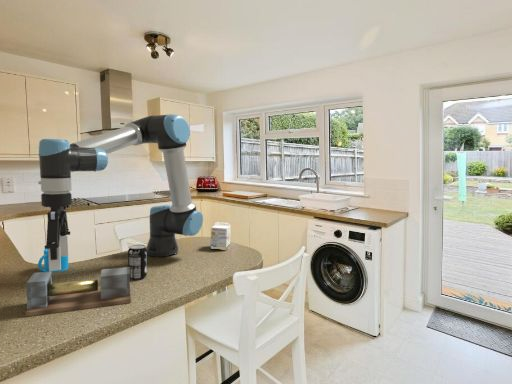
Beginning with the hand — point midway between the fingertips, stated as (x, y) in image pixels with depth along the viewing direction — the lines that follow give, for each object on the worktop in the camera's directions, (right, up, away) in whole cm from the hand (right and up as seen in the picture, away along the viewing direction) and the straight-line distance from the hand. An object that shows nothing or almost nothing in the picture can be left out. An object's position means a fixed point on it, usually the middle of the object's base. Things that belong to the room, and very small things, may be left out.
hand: (59, 262), depth 94 cm
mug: (-21, -10, +29) cm, 37 cm away
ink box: (+41, -8, +69) cm, 81 cm away
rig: (+6, -13, +4) cm, 15 cm away
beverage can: (+14, -11, +24) cm, 30 cm away
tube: (+2, -10, +1) cm, 10 cm away
